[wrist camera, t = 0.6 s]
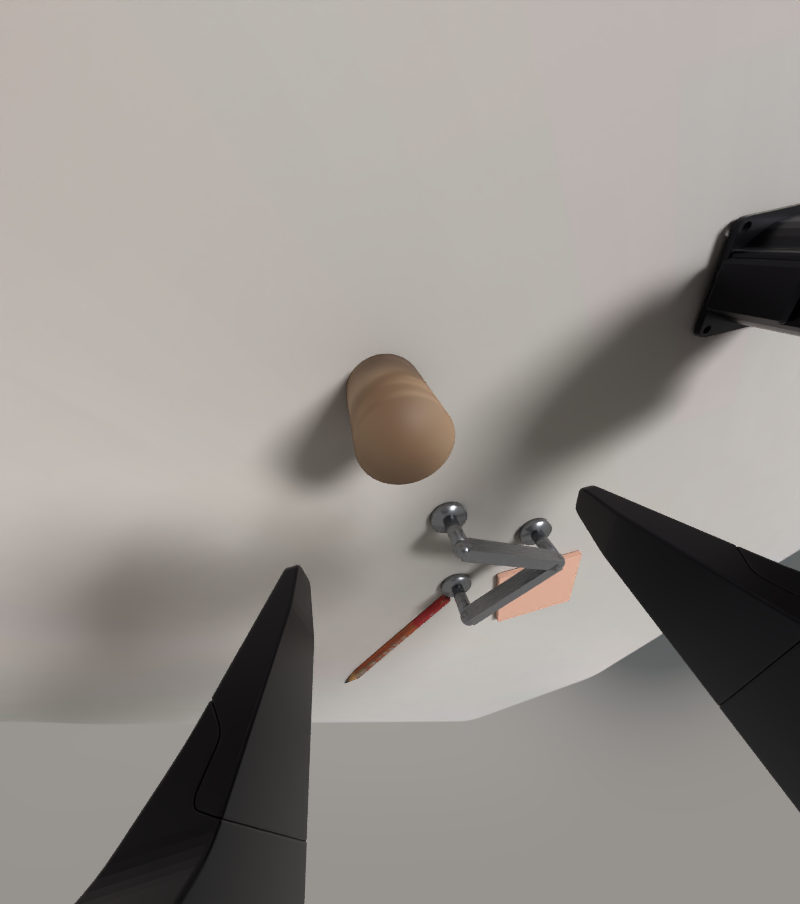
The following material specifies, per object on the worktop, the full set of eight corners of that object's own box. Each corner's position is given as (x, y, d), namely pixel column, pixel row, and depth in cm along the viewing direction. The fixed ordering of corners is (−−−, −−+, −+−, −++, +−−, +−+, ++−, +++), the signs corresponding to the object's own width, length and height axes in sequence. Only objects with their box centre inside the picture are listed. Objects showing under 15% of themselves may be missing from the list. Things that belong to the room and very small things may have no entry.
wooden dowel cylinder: (416, 345, 18) (451, 385, 13) (425, 415, 21) (457, 470, 16) (336, 364, 18) (342, 412, 13) (356, 433, 20) (367, 494, 15)
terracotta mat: (578, 550, 33) (581, 554, 33) (566, 596, 38) (569, 600, 38) (497, 574, 33) (499, 578, 32) (496, 617, 38) (498, 621, 37)
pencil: (442, 590, 33) (445, 599, 32) (449, 592, 33) (453, 601, 33) (341, 678, 39) (341, 687, 38) (348, 679, 40) (349, 687, 39)
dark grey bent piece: (557, 472, 26) (592, 508, 23) (541, 566, 34) (566, 603, 30) (428, 507, 25) (444, 549, 22) (442, 595, 33) (456, 636, 29)
